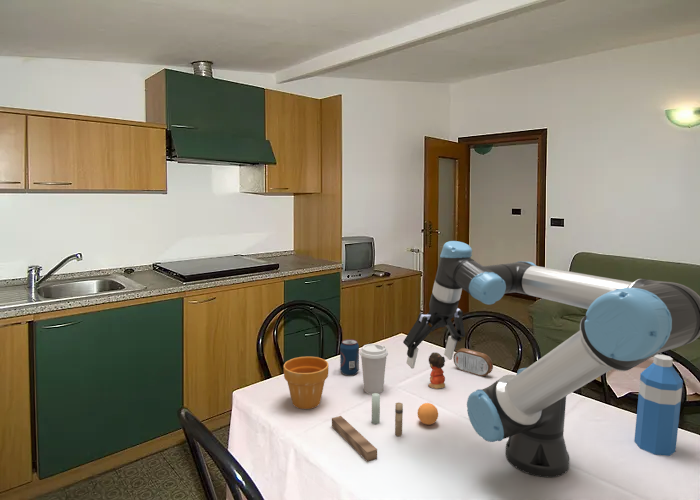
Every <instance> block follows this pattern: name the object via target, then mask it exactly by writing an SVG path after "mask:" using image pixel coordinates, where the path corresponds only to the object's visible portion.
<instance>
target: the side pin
mask: <svg viewBox="0 0 700 500" xmlns="http://www.w3.org/2000/svg"><path fill="white" fill-rule="evenodd" d="M380 413H381V393H373V394H371V423H372V425H378V424H380V422H381V421H380V420H381V419H380V417H381V414H380Z"/></svg>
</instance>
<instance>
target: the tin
mask: <svg viewBox="0 0 700 500" xmlns="http://www.w3.org/2000/svg"><path fill="white" fill-rule="evenodd" d="M452 360H453V364H454V365H455V367H456V368H457V369H458V370H460V371H462V372H465V373H468V374H472V375H475V376H477V377H486V376H488V375H490V373H492V371H493V369H494V362H493V361H492V359H491V357H490V356H489V355H487V354H486V353H483V352H479V351H477V350H472V349H469V348H465V347H462V348H459V349H458V350H457V351H456V352H454V353H453V357H452Z"/></svg>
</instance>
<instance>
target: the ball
mask: <svg viewBox="0 0 700 500" xmlns="http://www.w3.org/2000/svg"><path fill="white" fill-rule="evenodd" d="M438 417H439V412H438V408H437V407H436V406H435V405H434V404H433V403H430V402H425V403H421V405H420V406H419V407H418V409H417V418H418V419H419V421H420V422H421V423H422V424H423V425H429V426H430V425H433V424H434V423H436V422H437V420H438V419H439V418H438Z"/></svg>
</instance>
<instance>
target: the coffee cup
mask: <svg viewBox="0 0 700 500" xmlns="http://www.w3.org/2000/svg"><path fill="white" fill-rule="evenodd" d="M388 355H389V353H388V350H387V348H386V346H385V345H382V344H379V343H368V344H364V345H363V346H362V348H361V349H360V350H359V356H361V366H362V367H361V369H362V370H361V371H362V379H363V380H362V381H363V391H364V392H365V393H367V394H370V395H372V394H373V393H379V394H381V393H383V391H384V385H385V384H384V383H385V374H386V366H387V365H386V363H387V357H388Z"/></svg>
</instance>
